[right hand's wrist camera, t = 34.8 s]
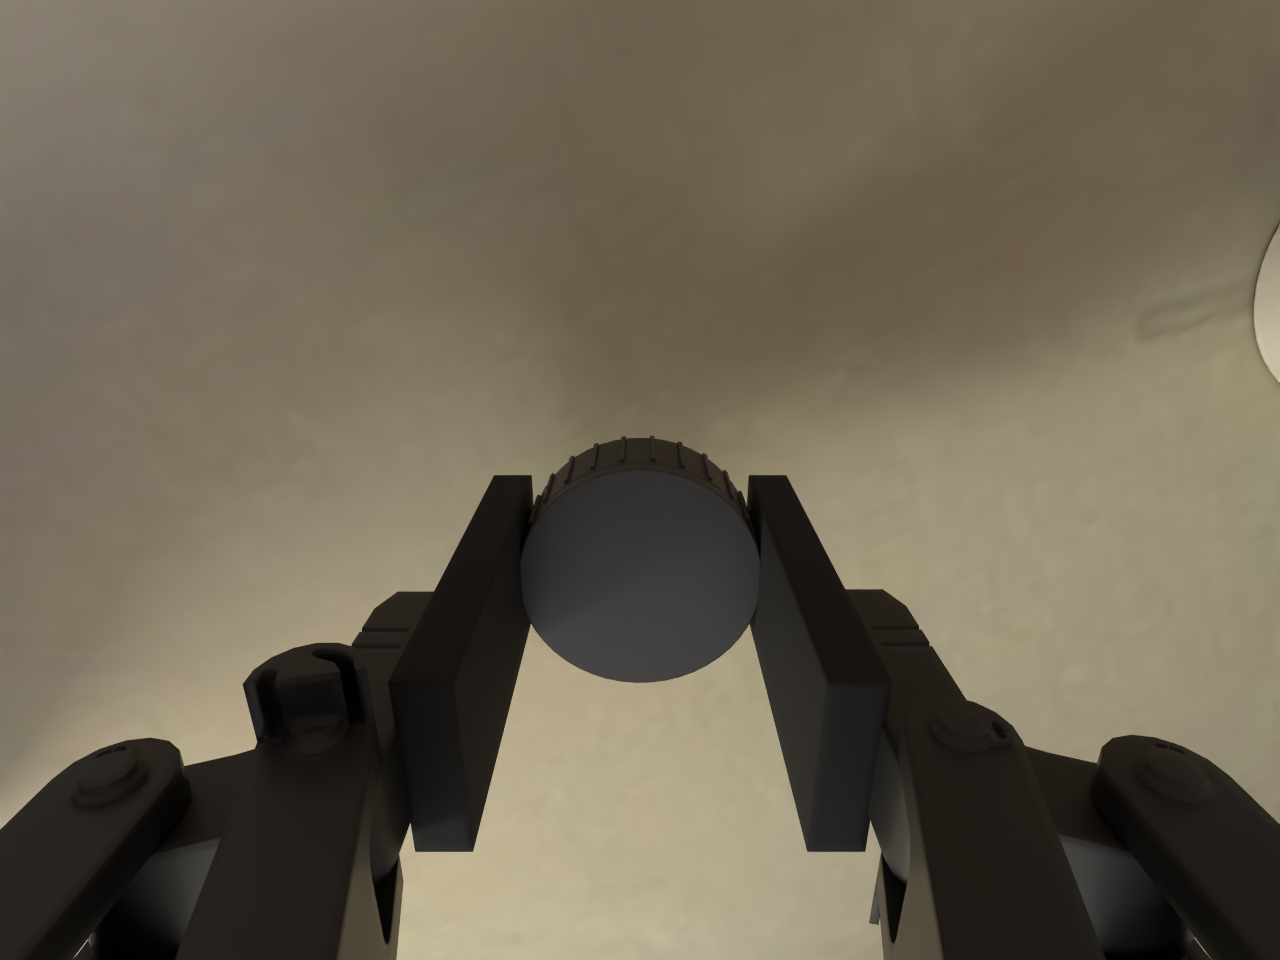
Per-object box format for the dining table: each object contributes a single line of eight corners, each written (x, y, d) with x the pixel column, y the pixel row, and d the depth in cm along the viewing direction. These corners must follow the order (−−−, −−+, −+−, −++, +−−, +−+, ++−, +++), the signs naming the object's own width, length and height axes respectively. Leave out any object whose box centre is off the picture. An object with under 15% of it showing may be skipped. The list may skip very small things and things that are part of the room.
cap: (482, 534, 15) (462, 577, 13) (647, 386, 13) (648, 413, 12) (634, 669, 16) (633, 724, 14) (797, 544, 15) (816, 589, 13)
